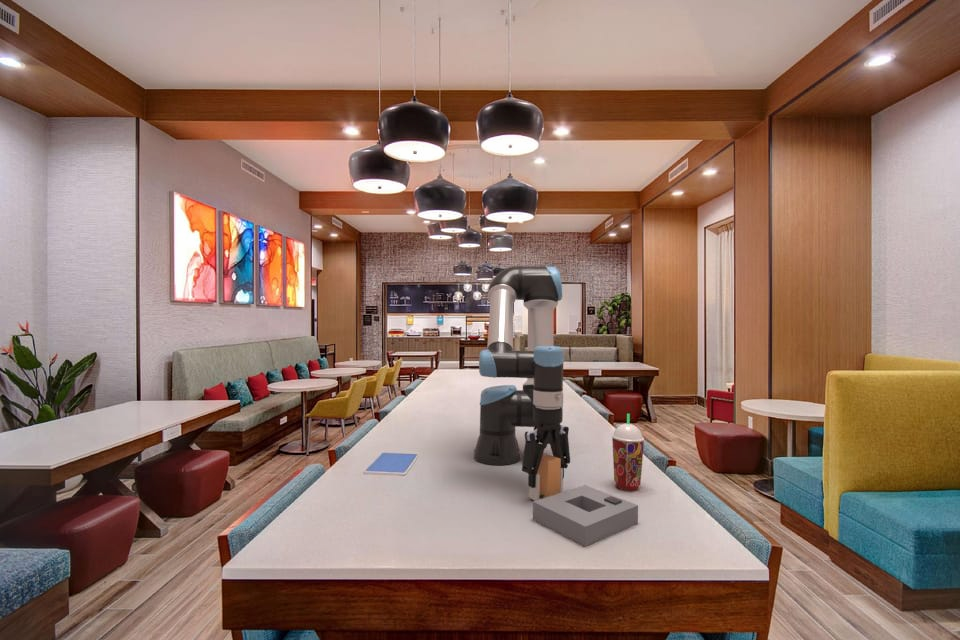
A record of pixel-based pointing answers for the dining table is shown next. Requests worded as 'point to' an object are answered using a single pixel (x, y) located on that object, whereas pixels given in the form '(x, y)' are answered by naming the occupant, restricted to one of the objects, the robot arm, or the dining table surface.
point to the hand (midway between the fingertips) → (546, 495)
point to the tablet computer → (392, 464)
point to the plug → (549, 475)
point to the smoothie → (627, 456)
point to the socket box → (585, 514)
